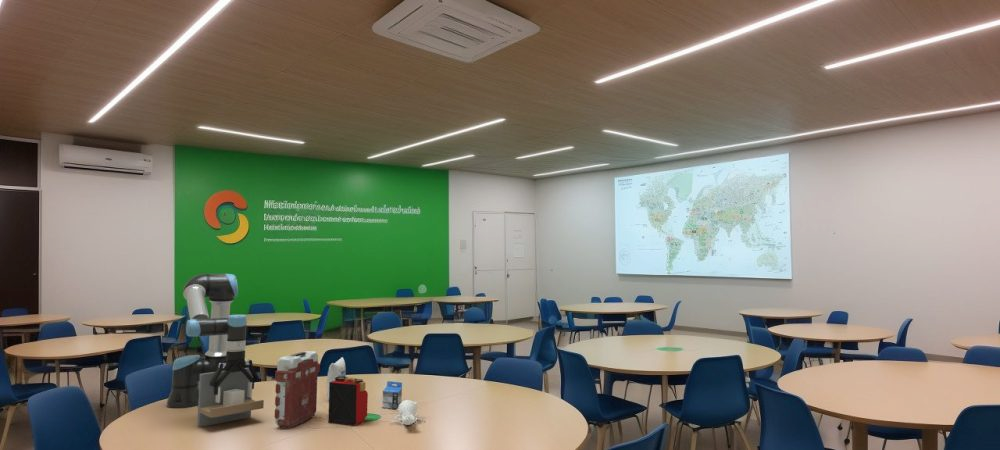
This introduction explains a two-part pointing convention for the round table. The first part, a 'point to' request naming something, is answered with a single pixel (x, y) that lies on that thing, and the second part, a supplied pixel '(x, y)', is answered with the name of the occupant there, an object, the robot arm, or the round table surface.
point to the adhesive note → (233, 397)
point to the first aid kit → (296, 388)
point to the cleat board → (215, 411)
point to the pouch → (335, 372)
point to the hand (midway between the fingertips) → (233, 399)
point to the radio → (347, 401)
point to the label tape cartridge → (392, 395)
